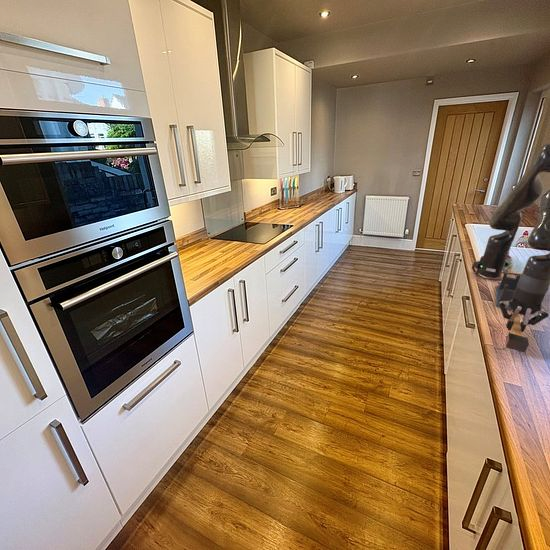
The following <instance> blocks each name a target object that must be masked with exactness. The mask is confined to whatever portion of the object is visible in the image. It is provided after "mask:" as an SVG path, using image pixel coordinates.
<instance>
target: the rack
mask: <svg viewBox="0 0 550 550" xmlns="http://www.w3.org/2000/svg"><path fill="white" fill-rule="evenodd" d="M520 277H521V274H516V277H511V276H508V271H504V272H503V275H502V278H501V280H500V284H499V285H496V292H495V293H496V295H495V296H496V298H495V299H496V300H495V301H496V303H495V304H496V305H495V306H496V307H498V308H500V301H501V300H502V301H509V300H510V299H511V298H512V297H513V294H514V292H515V289H516V286H517V284H518V281H519V279H520ZM506 309H507V310H510V311H512V308H511V306H510V304H509V305H508V307H507V308H506Z"/></svg>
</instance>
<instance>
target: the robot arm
mask: <svg viewBox="0 0 550 550" xmlns="http://www.w3.org/2000/svg"><path fill="white" fill-rule="evenodd" d="M541 173H550V142H548V143H547V142H546V143H545V144H543V145H541V147H540V148H539V150H538V151H536V153H535V155H534V157H533V159H532V160H531V162H530V164H529V166H528V167H527V169H526V171H525V172H524V174H523V175H522V176H521V178H520V179H519V181H518V182H517V183H516V184H515V185H514V186H513V188H512V190H511V191H510V192H509V194H508V195H507V197H506V198H505V200H504V201H503V202H502V203H501V204H500V205H499V206H498V207H497V208H496V209H495V210H494V212H493V213H492V215H491V216H490V219H489V226H490V228H491V229H492V230H496V231H503V232H501V233H497V234H494V235H490V236H489V238H488V239H487V243H486V246H485V250H484V253H483V255H482V256H481V257H480V259H479V260H477V261H474V262H473V264H472V265H471V270H472V272H473V273H475V275H478V276H479V277H480V278H483V279H486V280H492V281H497V280H500V279H501V277H502V274H503V271H504V269H505V268H504V265H505V262H506V259H507V256H508V253H509V254H510V251H511V247H512V244H513V243H514V241H515V237H516V235H517V232H518V230H519V228H520V225H521V224H522V223H521V222H522V221H523V214H522V211H523V210H526V209H528V208H530V207H531V206H533V205H534V204H535V203H536V202H537V201H538V200H539V199H541V200H540V203H539V207H538V216H537V220H536V223H535V225H534V226H533V229H532V231H531V232H530V234H529V236H528V237H527V244H528V246H529V247H530V248H531V249H533V250H535V251H544V252H549V253H547V254H542V255H541V254H540V255H539V254H537V255H532V256H530V257H528V259H527V261H526V263H525V266H524V268H523V271H522V273H521V274H520V279H519V281H518V284H517V286H516V289H515V292H514V294H513V297H512V298H511V299H510V300H509V301H502V300H501V301H500V307H499V308H500V310H501V313H502V316H503V318H504V319H505V320H507V323H506V329H507V330H508V331H509V332H510V331H511V328H512V326H513V324H514V320H515V318H516V317H517V315H518V314H520V315H522V316H523V317H522V320H520V324H521V333H524V332H525V330H526V329H527V326H529V325H530V326H536V325H537V324H538V323H540V322H542V321H544V319H545V320H546V318H548V317H549V311H548V310H546V309H544V308H542V303H543V301H544V299H545V296H546V294H547V292H549V291H548V290H549V287H550V189H548V190H547V192H545V193H544V188H545V187H544V183H543V181H542V179H541V177H540V174H541ZM543 194H544V195H543ZM542 195H543V196H542ZM541 196H542V197H541ZM509 304H510V306H511V308H512V310H511V311H512V312H510V314H509V313H508V309H506V308H507V307H508V305H509ZM536 313H537V314H536ZM534 314H536V315H534ZM532 315H534V316H533V317H532V318H530V317H531V316H532Z"/></svg>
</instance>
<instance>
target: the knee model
mask: <svg viewBox="0 0 550 550" xmlns="http://www.w3.org/2000/svg"><path fill="white" fill-rule="evenodd" d="M512 264H513V263H512V256H511V255H510V252H509V253H508V256H507V259H506V262H505V265H504V268H503V269H505V270H506V272H510V271H512V270H513V269H514V268H515V266H514V264H513V265H512Z"/></svg>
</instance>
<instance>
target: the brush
mask: <svg viewBox="0 0 550 550" xmlns="http://www.w3.org/2000/svg"><path fill="white" fill-rule="evenodd" d="M510 311H511V312H512V310H510ZM511 312H510V313H511ZM520 315H521V314H518V315H517V317H516V318H515V320H514V324H513V326H512V328H511V331H510V330H509V332H508V334H507V336H506V339H505V348H506V349H510V350H512V351H517V352H520V353H524V354H526V352H527V350H528V348H529V345H530V342H529V338H528V337H526V336H523V335H522V333H523V332H521V324H520V323H521V318H520V317H521V316H520Z"/></svg>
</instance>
